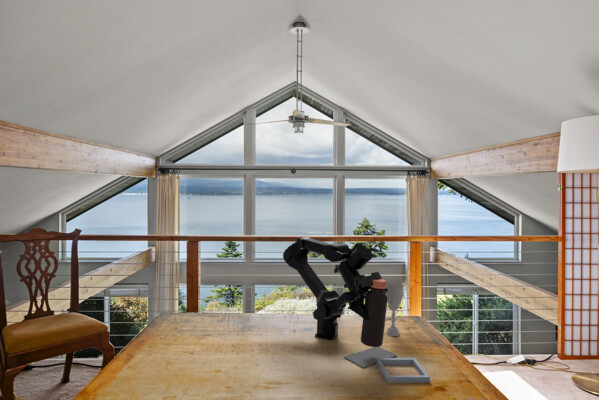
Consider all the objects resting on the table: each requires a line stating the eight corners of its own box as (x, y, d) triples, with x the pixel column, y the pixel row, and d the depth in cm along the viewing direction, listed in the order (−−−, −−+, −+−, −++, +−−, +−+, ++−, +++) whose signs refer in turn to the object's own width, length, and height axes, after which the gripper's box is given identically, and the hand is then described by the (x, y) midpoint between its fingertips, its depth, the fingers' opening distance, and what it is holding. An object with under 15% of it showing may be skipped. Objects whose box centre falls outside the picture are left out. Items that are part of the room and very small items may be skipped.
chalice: (402, 338, 148) (405, 287, 147) (382, 336, 149) (385, 285, 148) (401, 330, 155) (404, 282, 154) (383, 328, 156) (385, 280, 155)
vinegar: (366, 337, 136) (373, 276, 135) (385, 343, 132) (393, 280, 131) (356, 342, 131) (363, 278, 130) (376, 349, 127) (384, 284, 126)
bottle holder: (387, 382, 116) (387, 377, 115) (375, 363, 127) (376, 358, 127) (429, 382, 116) (430, 377, 116) (414, 362, 128) (414, 358, 128)
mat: (344, 357, 130) (344, 356, 130) (377, 347, 139) (377, 345, 139) (363, 368, 124) (363, 367, 124) (397, 356, 133) (397, 355, 133)
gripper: (344, 266, 127) (369, 313, 119) (385, 260, 138) (410, 302, 131) (325, 286, 134) (348, 331, 126) (366, 278, 145) (389, 320, 137)
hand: (375, 320), depth 130 cm, fingers closed on vinegar, 4 cm apart
